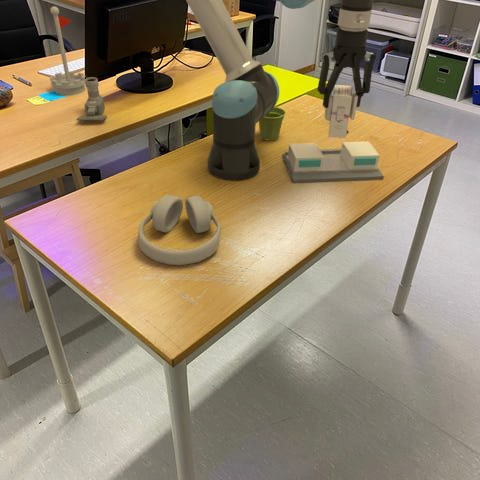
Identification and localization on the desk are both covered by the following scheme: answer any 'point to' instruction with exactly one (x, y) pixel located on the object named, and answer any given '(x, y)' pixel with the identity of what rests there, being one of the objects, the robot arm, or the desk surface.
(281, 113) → the plant pot
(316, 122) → the desk surface
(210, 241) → the headphones
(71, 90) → the flag stand
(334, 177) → the rail panel
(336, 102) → the ink cartridge box
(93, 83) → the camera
